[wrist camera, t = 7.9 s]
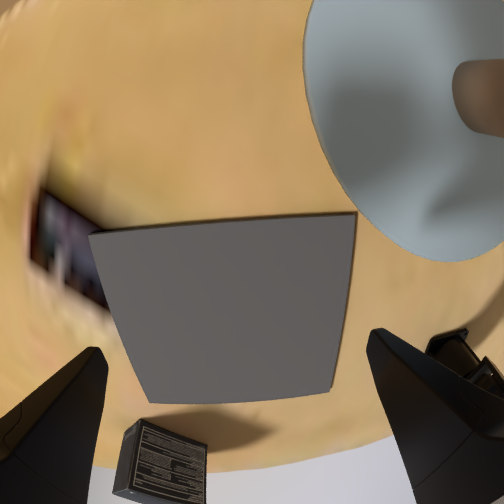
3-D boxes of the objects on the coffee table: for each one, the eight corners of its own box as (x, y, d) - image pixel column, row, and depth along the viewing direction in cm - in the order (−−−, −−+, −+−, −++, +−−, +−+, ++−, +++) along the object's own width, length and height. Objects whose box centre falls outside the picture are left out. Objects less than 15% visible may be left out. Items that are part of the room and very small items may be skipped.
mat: (353, 213, 21) (355, 215, 21) (328, 389, 29) (329, 392, 29) (90, 233, 20) (88, 235, 20) (150, 400, 29) (149, 403, 28)
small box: (122, 432, 32) (109, 494, 23) (139, 417, 30) (125, 488, 21) (186, 457, 35) (182, 515, 26) (209, 444, 34) (208, 510, 24)
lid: (526, 16, 7) (570, 14, 3) (524, 245, 15) (565, 274, 11) (286, -80, 7) (306, -135, 2) (304, 268, 15) (333, 333, 10)
